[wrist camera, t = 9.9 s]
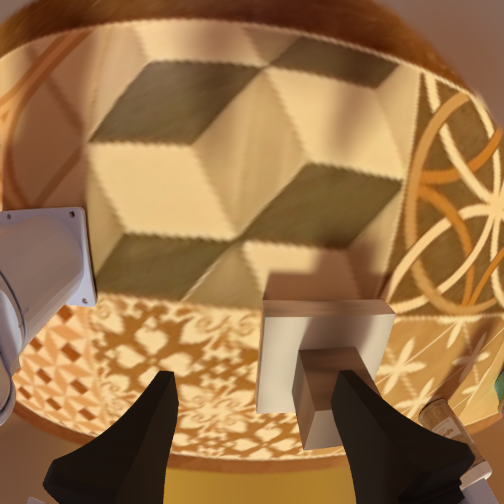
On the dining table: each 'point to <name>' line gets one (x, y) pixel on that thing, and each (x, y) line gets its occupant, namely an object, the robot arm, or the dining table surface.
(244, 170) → the dining table surface
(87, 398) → the dining table surface
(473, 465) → the sprinkles bottle
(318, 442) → the walnut block
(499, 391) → the cupcake
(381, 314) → the birch block
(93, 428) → the dining table surface
